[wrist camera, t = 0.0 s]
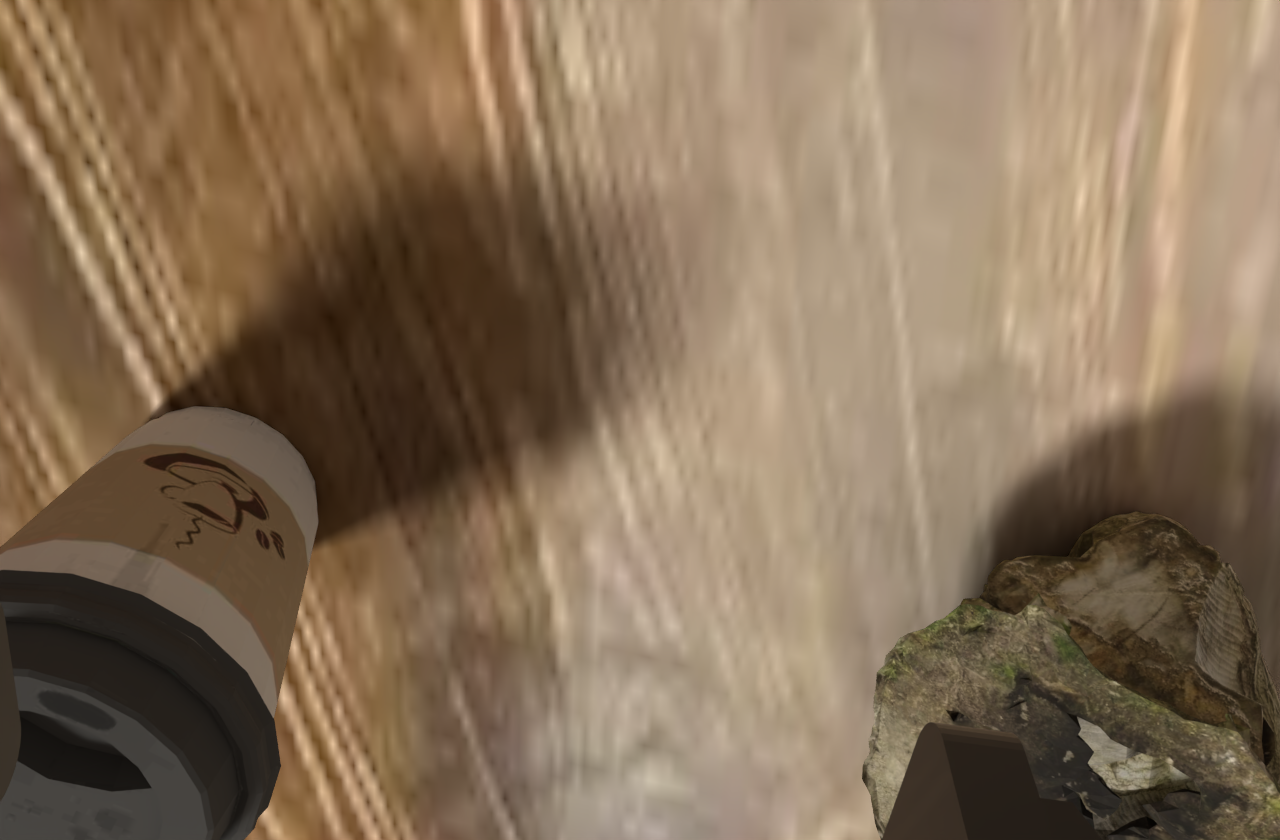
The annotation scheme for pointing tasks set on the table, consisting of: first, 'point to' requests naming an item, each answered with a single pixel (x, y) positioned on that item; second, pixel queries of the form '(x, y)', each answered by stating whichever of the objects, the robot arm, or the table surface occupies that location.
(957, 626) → the hollow geode rock
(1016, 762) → the robot arm
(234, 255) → the table surface
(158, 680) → the coffee cup
